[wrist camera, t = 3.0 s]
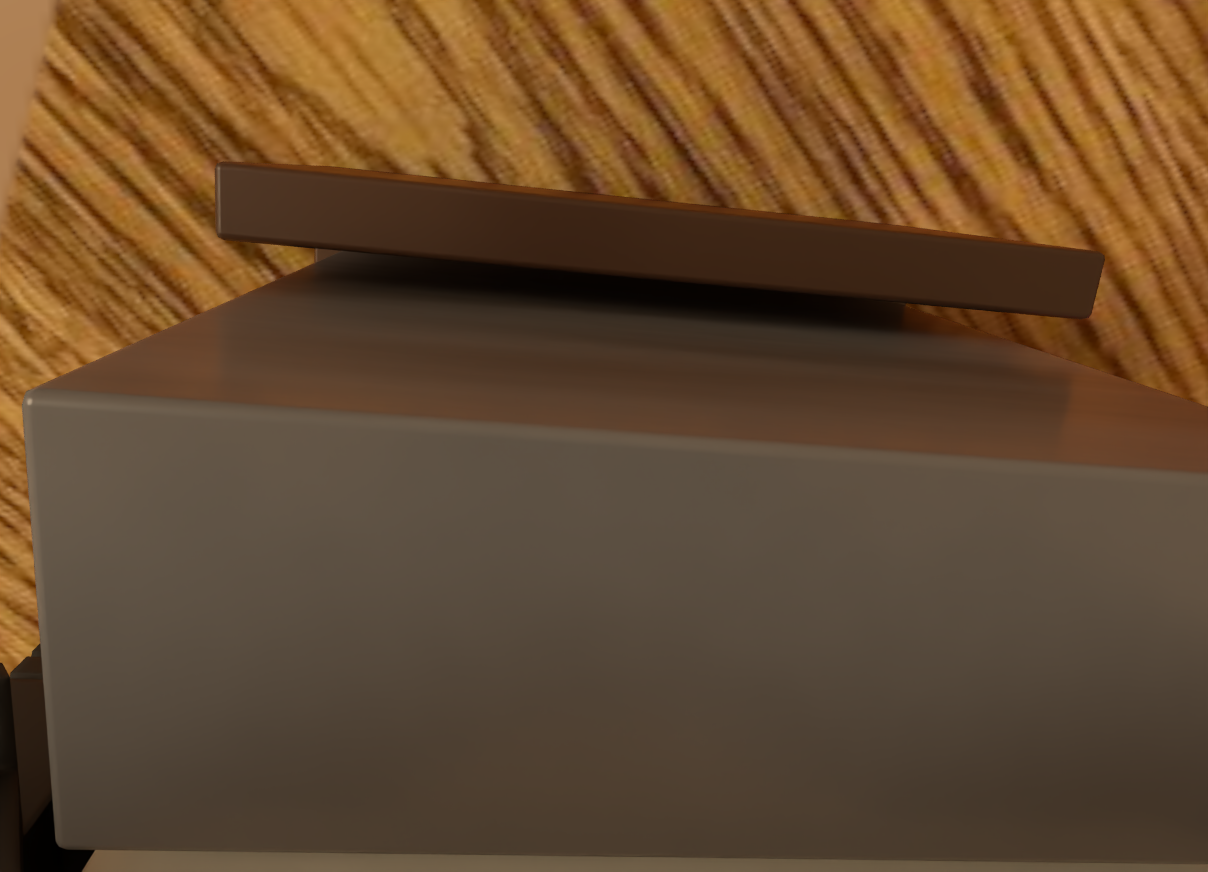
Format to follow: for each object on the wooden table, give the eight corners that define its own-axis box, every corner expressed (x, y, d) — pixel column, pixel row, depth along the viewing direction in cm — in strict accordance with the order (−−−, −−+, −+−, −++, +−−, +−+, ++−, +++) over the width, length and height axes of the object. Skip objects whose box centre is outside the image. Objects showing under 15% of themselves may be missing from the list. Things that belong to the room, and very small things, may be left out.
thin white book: (341, 448, 15) (-38, 1055, 5) (846, 482, 16) (1447, 1036, 6) (338, 556, 16) (-8, 1318, 5) (828, 582, 17) (1346, 1252, 6)
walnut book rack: (325, 166, 15) (-116, 145, 4) (902, 225, 16) (1619, 319, 6) (315, 752, 18) (40, 1557, 7) (801, 765, 19) (1146, 1471, 9)
